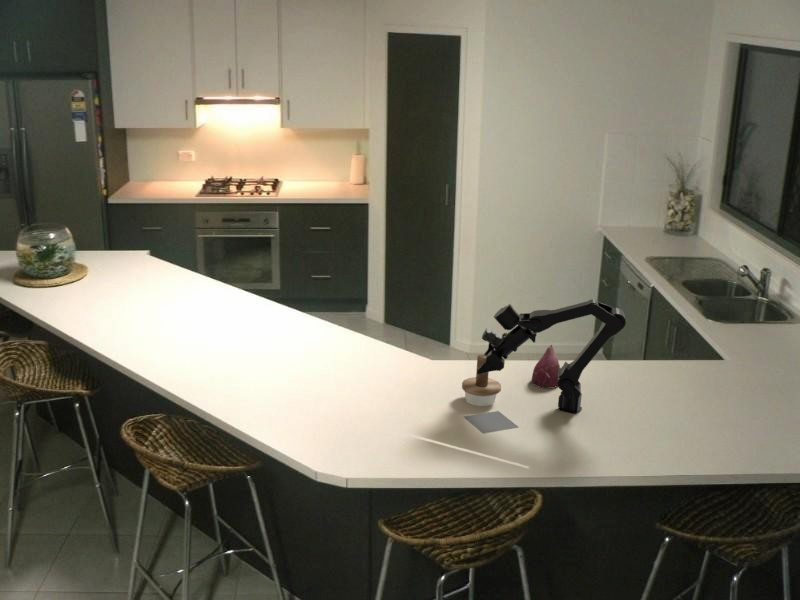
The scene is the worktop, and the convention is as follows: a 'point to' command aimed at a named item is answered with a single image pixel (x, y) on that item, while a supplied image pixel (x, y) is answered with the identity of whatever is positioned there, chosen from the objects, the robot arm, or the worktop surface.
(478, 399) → the ramekin
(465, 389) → the walnut lid
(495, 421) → the rubber mat
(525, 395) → the worktop surface
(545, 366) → the vegetable
